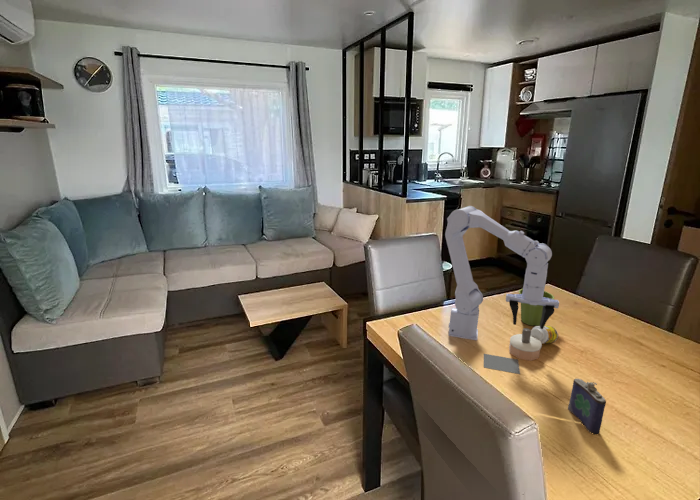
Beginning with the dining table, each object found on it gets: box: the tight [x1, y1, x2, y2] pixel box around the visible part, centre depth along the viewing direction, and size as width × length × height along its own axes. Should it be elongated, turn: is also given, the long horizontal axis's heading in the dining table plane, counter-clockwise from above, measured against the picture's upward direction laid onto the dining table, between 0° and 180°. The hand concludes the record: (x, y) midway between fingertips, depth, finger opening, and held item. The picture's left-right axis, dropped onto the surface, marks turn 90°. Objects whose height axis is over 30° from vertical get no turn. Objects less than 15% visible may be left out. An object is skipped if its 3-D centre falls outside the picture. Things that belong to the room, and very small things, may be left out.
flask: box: [567, 378, 607, 435], centre depth 91 cm, size 9×3×11 cm, turn 8°
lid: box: [509, 327, 543, 352], centre depth 119 cm, size 9×9×5 cm
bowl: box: [508, 343, 541, 361], centre depth 121 cm, size 8×8×4 cm
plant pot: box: [518, 288, 555, 327], centre depth 141 cm, size 12×12×11 cm
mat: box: [483, 353, 521, 375], centre depth 115 cm, size 10×8×1 cm
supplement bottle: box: [530, 325, 559, 344], centre depth 125 cm, size 6×6×10 cm
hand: (527, 325), depth 118 cm, fingers open, 7 cm apart
